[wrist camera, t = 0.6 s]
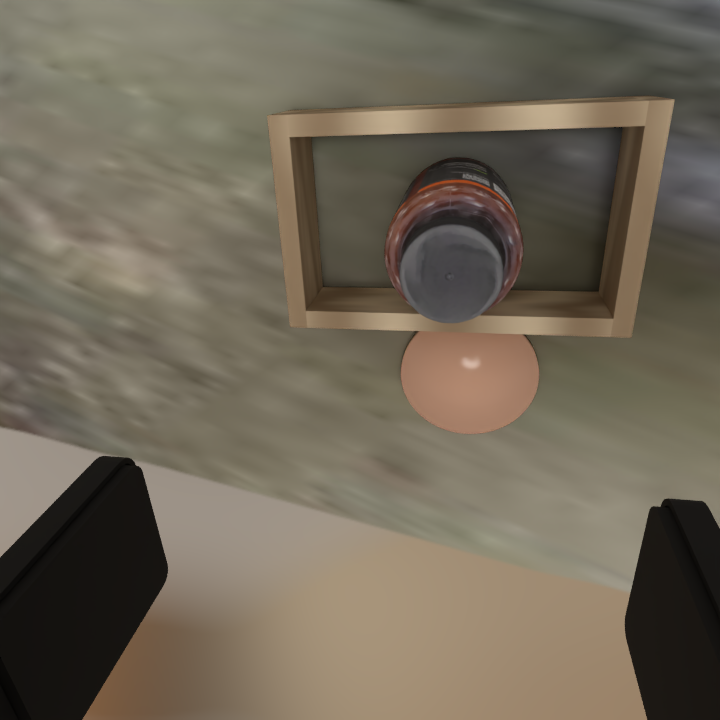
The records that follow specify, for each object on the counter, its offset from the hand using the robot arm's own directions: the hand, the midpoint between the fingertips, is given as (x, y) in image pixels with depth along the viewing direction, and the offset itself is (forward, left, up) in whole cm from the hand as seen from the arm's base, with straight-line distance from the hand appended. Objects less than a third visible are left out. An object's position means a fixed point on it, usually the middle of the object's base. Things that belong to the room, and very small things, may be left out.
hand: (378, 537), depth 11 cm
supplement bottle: (-1, -1, -25) cm, 25 cm away
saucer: (-2, +9, -24) cm, 26 cm away
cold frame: (-1, -1, -24) cm, 25 cm away
